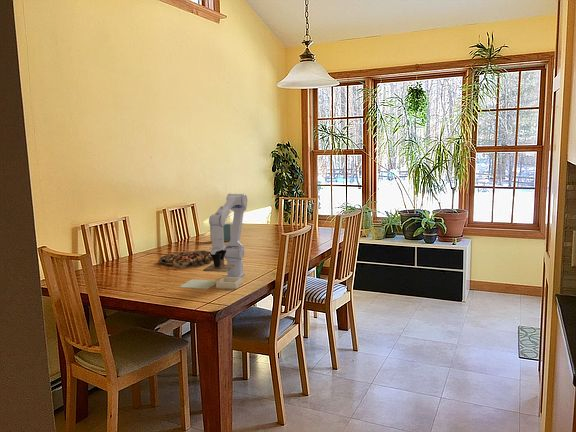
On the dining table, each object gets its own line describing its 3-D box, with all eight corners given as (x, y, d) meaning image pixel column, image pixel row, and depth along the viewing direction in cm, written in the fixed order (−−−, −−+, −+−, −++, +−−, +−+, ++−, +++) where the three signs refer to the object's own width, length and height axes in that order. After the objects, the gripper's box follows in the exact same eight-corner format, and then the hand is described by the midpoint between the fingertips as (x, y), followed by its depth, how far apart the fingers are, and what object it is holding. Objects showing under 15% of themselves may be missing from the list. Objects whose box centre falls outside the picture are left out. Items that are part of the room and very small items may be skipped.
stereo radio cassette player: (212, 243, 353) (211, 215, 350) (209, 241, 361) (208, 214, 358) (239, 240, 361) (239, 214, 358) (236, 238, 369) (235, 212, 366)
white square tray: (223, 282, 245) (223, 277, 245) (242, 283, 243) (242, 277, 242) (216, 288, 235) (216, 282, 235) (235, 289, 233) (235, 283, 233)
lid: (212, 265, 246) (211, 257, 246) (234, 266, 243) (234, 257, 243) (202, 270, 235) (202, 262, 234) (226, 271, 232) (226, 263, 231)
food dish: (203, 271, 274) (202, 258, 272) (149, 270, 280) (147, 257, 279) (223, 256, 308) (222, 244, 306) (174, 255, 314) (173, 244, 313)
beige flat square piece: (191, 279, 251) (191, 279, 251) (218, 281, 248) (218, 280, 248) (179, 287, 238) (179, 286, 238) (207, 289, 234) (207, 288, 234)
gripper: (215, 235, 245) (216, 262, 247) (204, 241, 231) (205, 269, 233) (228, 236, 243) (229, 262, 245) (218, 241, 229) (219, 269, 231)
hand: (218, 265), depth 239 cm, fingers closed on lid, 4 cm apart
